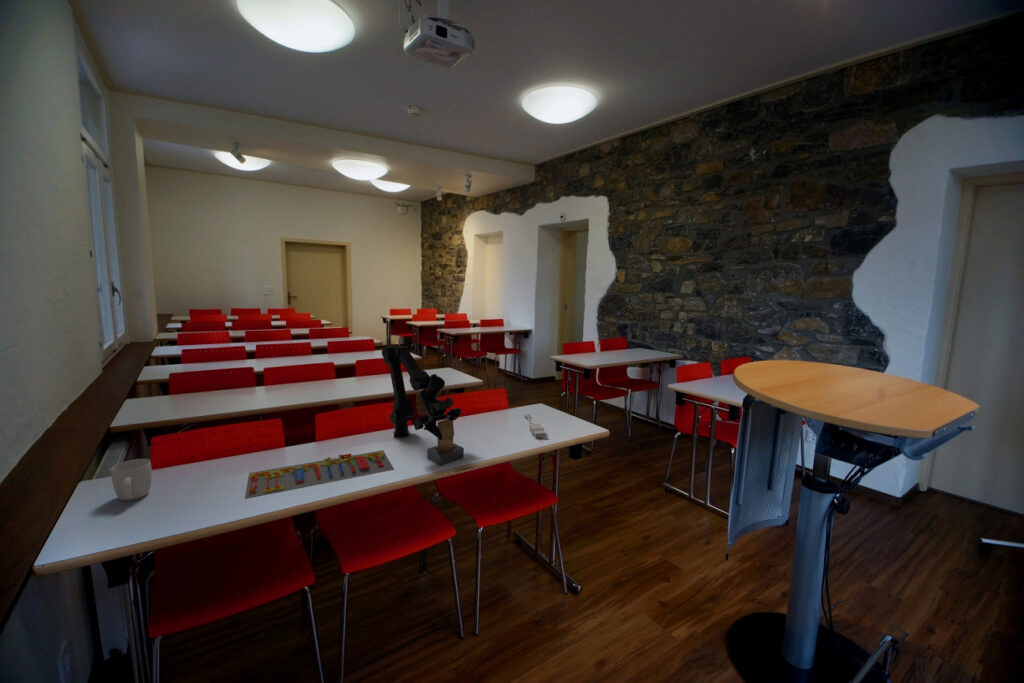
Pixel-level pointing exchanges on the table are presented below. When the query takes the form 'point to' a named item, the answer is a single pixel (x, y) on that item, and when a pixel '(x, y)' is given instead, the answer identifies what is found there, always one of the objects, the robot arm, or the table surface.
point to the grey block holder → (445, 455)
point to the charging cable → (535, 428)
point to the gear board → (316, 473)
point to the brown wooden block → (445, 435)
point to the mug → (132, 479)
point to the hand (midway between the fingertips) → (447, 437)
